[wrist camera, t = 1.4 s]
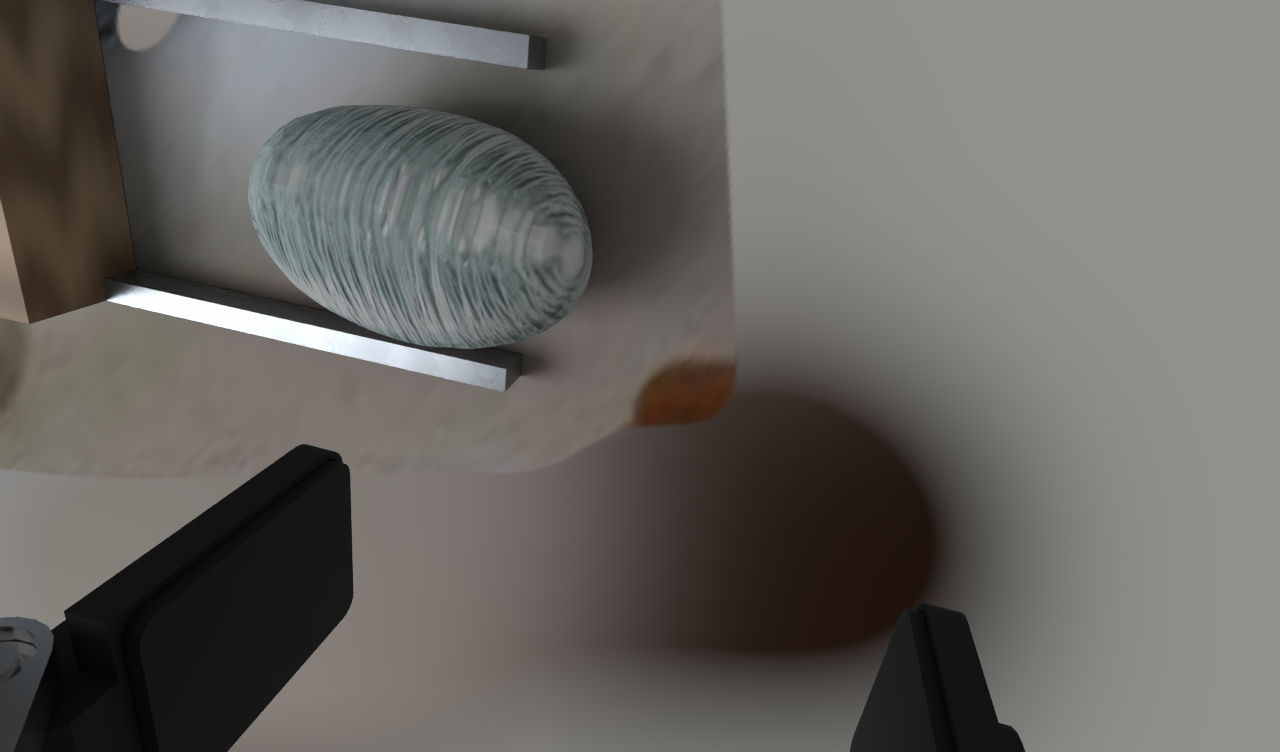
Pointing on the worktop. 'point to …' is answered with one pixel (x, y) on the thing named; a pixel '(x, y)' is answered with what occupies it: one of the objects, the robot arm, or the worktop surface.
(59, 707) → the robot arm
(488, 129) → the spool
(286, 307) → the guide rails
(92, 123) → the end stop
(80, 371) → the worktop surface
